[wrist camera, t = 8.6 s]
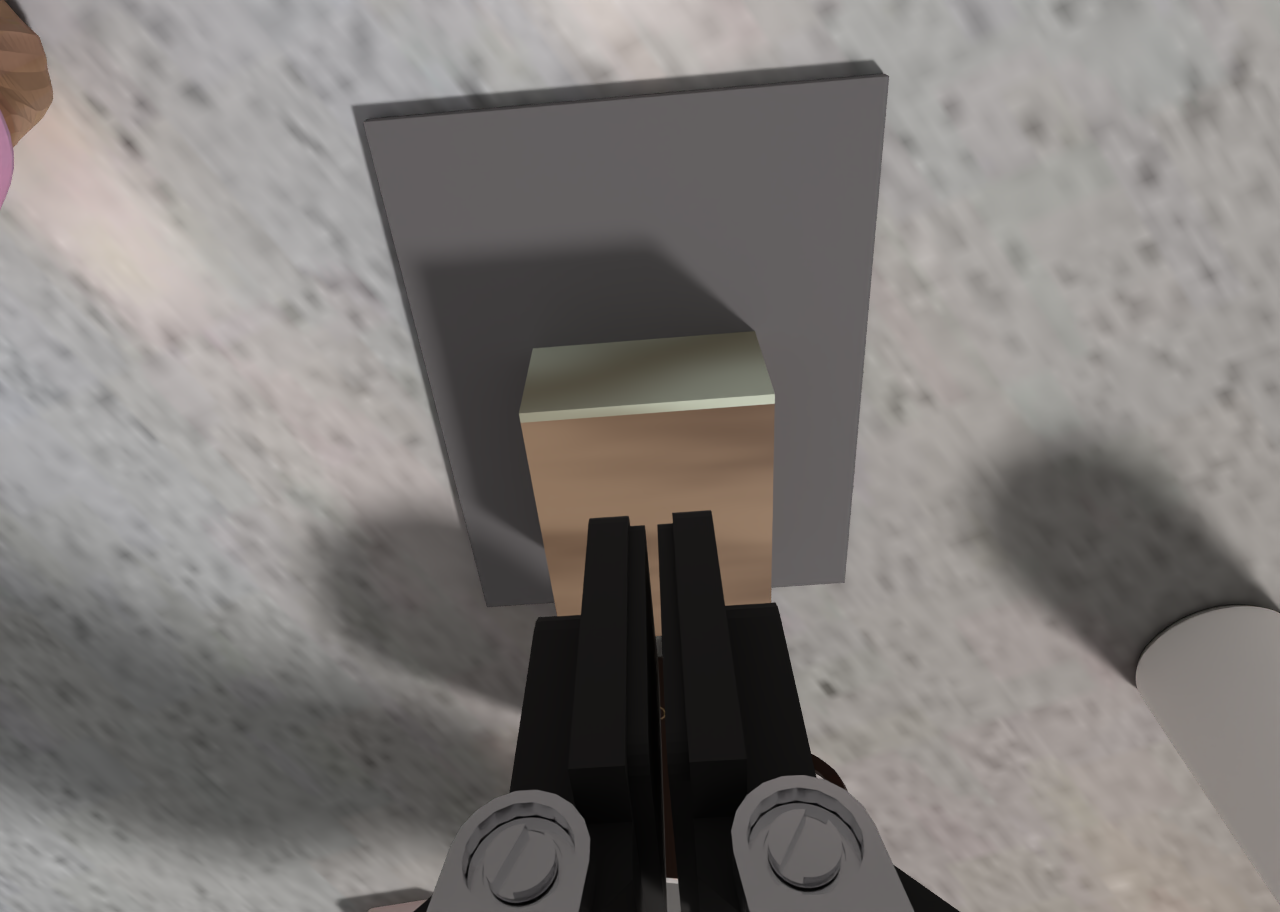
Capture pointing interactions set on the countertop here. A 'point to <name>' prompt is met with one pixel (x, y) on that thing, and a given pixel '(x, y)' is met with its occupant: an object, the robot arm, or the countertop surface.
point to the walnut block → (653, 452)
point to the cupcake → (19, 88)
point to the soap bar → (399, 907)
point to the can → (1225, 717)
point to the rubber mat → (642, 278)
